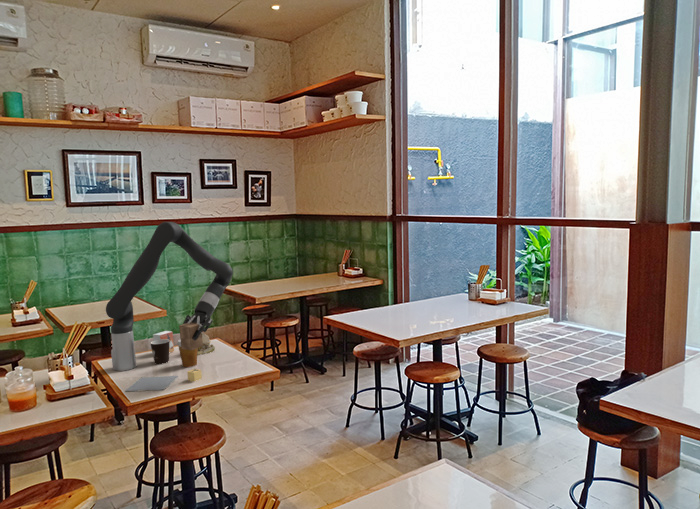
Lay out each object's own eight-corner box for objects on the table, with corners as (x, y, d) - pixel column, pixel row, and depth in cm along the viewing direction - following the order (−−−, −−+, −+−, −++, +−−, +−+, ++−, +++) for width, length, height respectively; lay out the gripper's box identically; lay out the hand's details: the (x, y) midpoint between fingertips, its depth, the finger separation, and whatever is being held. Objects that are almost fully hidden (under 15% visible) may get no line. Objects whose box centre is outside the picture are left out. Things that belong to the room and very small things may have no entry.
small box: (161, 356, 261) (159, 335, 260) (154, 354, 264) (152, 334, 263) (174, 351, 267) (172, 331, 266) (167, 350, 270) (165, 330, 269)
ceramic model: (187, 357, 256) (185, 337, 255) (183, 352, 266) (182, 332, 265) (216, 352, 262) (214, 332, 261) (212, 347, 272) (210, 328, 271)
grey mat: (125, 391, 212) (124, 390, 212) (141, 378, 228) (141, 377, 228) (164, 390, 211) (164, 389, 211) (177, 376, 227) (177, 375, 227)
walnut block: (181, 348, 220) (179, 325, 219) (192, 344, 225) (190, 322, 224) (191, 350, 217) (189, 326, 215) (203, 346, 222) (201, 323, 221)
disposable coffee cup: (203, 361, 247) (201, 336, 246) (195, 368, 238) (193, 342, 237) (184, 362, 248) (182, 337, 247) (175, 368, 239) (173, 342, 238)
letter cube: (188, 380, 222) (187, 371, 221) (195, 377, 225) (194, 368, 224) (194, 382, 219) (193, 372, 219) (201, 379, 223) (201, 369, 222)
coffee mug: (171, 363, 247) (169, 342, 246) (151, 366, 245) (149, 345, 244) (171, 356, 258) (170, 336, 257) (153, 359, 256) (151, 339, 255)
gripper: (190, 299, 229) (170, 332, 220) (214, 301, 221) (194, 335, 213) (200, 308, 234) (181, 341, 225) (224, 310, 226) (205, 344, 218)
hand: (188, 338), depth 219 cm, fingers closed on walnut block, 6 cm apart
